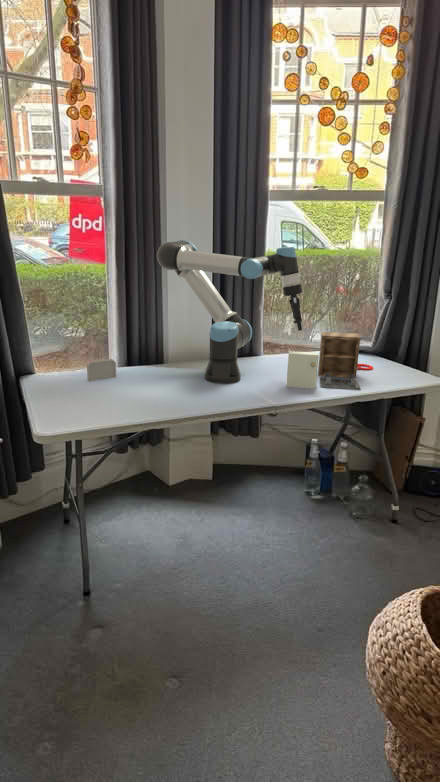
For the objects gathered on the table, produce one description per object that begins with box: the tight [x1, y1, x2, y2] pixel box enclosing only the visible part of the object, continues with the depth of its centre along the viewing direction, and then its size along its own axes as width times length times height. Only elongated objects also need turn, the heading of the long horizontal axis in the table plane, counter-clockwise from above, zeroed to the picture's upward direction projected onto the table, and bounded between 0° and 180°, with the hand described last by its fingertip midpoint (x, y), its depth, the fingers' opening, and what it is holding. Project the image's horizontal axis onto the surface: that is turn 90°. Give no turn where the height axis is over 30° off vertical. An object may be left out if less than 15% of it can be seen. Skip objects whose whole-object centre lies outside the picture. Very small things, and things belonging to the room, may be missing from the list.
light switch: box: [86, 358, 117, 382], centre depth 235 cm, size 2×12×8 cm, turn 125°
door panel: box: [285, 350, 320, 389], centre depth 232 cm, size 12×5×14 cm, turn 83°
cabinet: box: [317, 331, 361, 379], centre depth 250 cm, size 16×8×18 cm, turn 83°
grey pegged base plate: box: [319, 372, 362, 391], centre depth 237 cm, size 16×10×4 cm, turn 83°
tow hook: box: [357, 346, 374, 371], centre depth 263 cm, size 8×13×9 cm
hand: (300, 336), depth 237 cm, fingers open, 13 cm apart
